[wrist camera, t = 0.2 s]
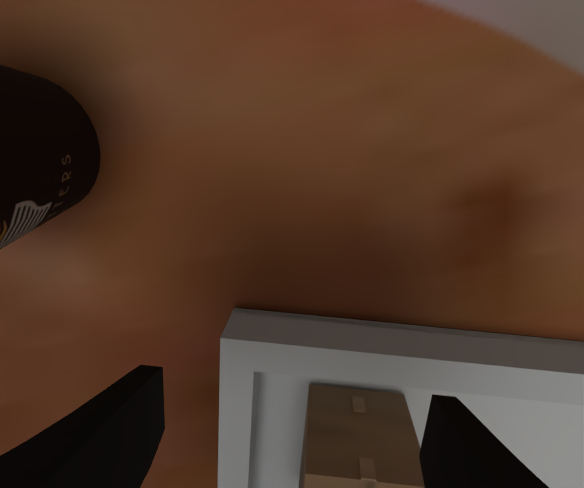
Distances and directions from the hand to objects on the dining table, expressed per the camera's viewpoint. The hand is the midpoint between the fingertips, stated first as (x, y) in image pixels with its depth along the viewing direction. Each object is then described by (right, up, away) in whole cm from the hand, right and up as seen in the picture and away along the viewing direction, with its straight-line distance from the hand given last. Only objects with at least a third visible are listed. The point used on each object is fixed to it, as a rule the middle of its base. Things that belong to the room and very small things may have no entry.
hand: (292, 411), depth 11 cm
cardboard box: (+3, -6, +11) cm, 13 cm away
